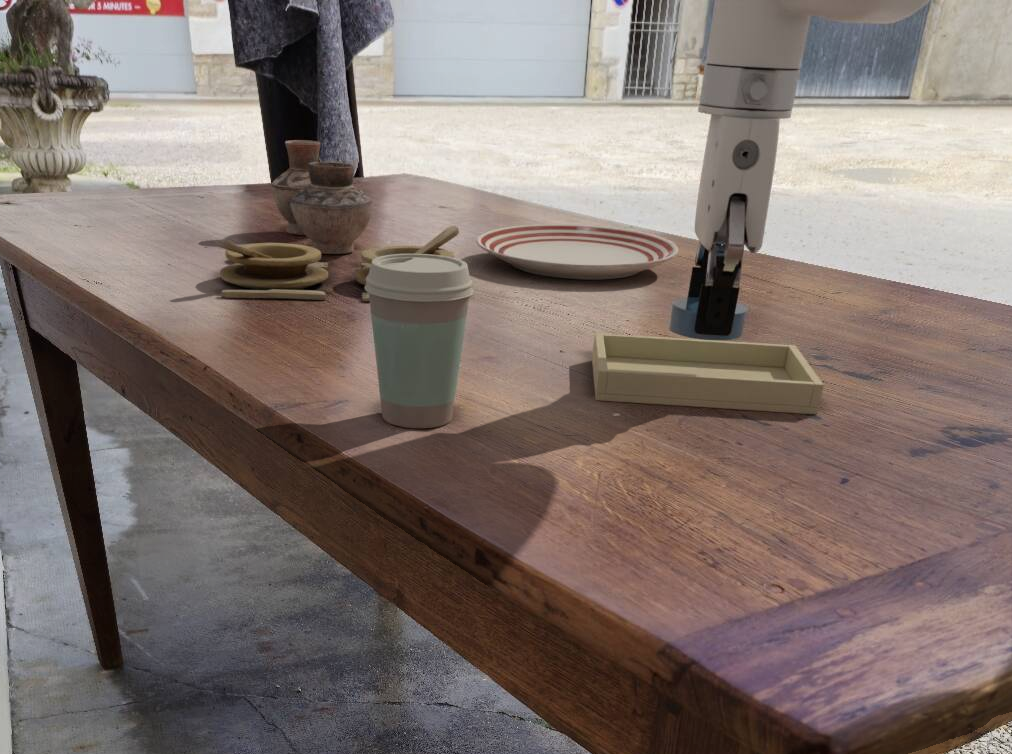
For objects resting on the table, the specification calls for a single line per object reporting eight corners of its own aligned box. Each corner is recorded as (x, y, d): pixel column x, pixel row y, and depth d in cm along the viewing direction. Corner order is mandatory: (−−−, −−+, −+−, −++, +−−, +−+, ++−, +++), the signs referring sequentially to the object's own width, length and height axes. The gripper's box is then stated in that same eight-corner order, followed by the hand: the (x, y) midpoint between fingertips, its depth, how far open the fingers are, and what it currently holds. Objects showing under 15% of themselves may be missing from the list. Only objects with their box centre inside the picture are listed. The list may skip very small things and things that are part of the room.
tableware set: (454, 270, 138) (455, 220, 135) (469, 304, 122) (472, 248, 119) (227, 265, 135) (223, 214, 132) (213, 299, 119) (207, 242, 116)
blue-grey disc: (737, 324, 98) (742, 299, 97) (748, 342, 93) (753, 316, 91) (665, 319, 98) (668, 294, 97) (671, 337, 93) (675, 311, 92)
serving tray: (789, 372, 103) (795, 345, 102) (816, 414, 92) (824, 384, 91) (591, 359, 104) (594, 332, 103) (595, 400, 93) (599, 370, 92)
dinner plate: (630, 297, 128) (634, 268, 126) (439, 267, 139) (439, 240, 137) (701, 264, 148) (706, 239, 146) (529, 240, 159) (531, 216, 157)
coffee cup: (432, 397, 92) (436, 249, 85) (487, 425, 86) (496, 268, 79) (347, 410, 88) (344, 256, 81) (399, 440, 82) (400, 277, 75)
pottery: (331, 226, 162) (329, 138, 155) (384, 257, 144) (384, 158, 137) (260, 228, 159) (255, 138, 152) (304, 260, 140) (300, 158, 133)
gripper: (815, 104, 78) (763, 351, 88) (776, 90, 92) (735, 305, 102) (713, 98, 78) (674, 345, 88) (690, 85, 92) (658, 300, 102)
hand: (707, 322), depth 95 cm, fingers closed on blue-grey disc, 6 cm apart
